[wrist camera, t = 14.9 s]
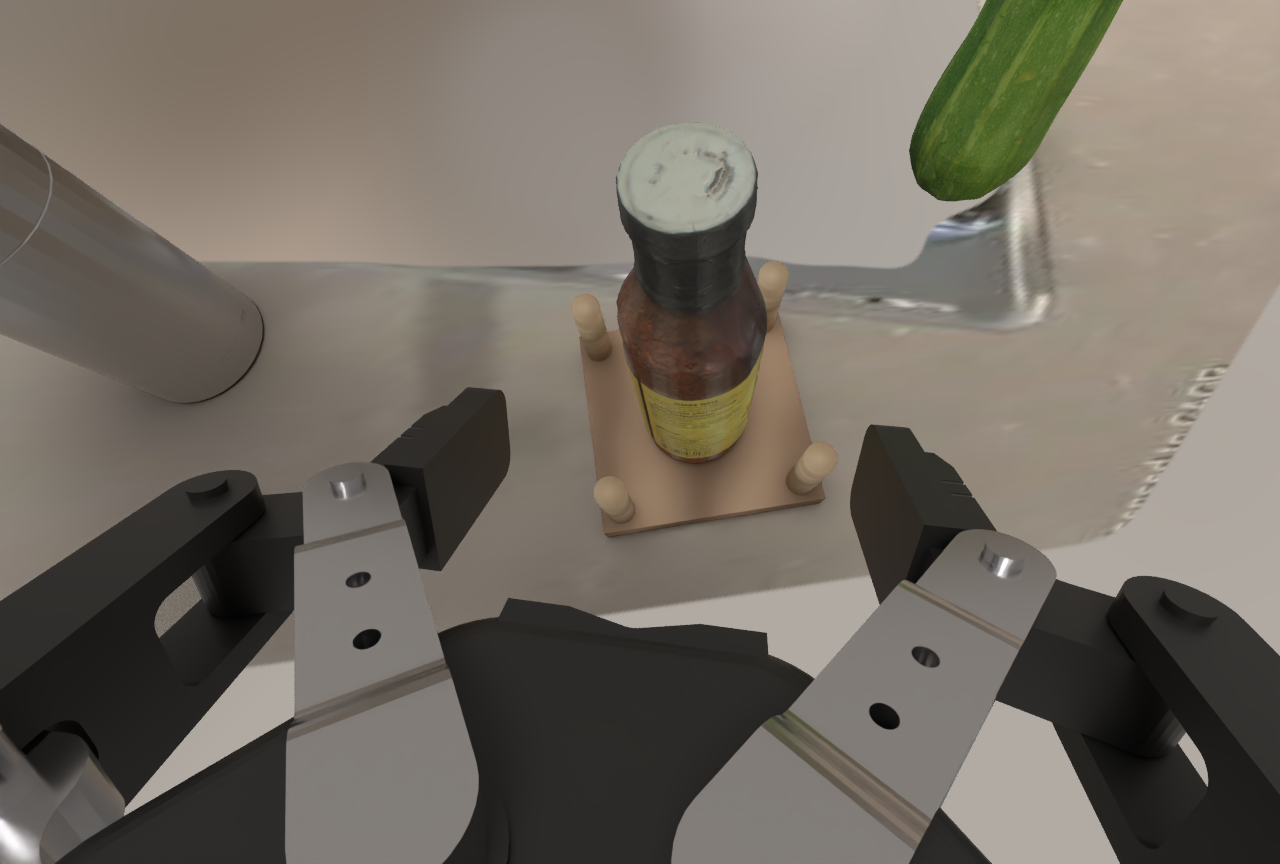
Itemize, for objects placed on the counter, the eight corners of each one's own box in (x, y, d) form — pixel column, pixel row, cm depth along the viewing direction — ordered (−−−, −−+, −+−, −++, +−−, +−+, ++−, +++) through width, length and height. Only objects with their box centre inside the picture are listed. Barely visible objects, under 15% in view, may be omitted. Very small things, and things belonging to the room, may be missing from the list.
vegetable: (884, 208, 39) (1069, -165, 20) (903, 130, 41) (1090, -279, 22) (993, 231, 38) (1299, -144, 19) (1008, 149, 40) (1300, -266, 21)
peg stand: (607, 536, 34) (588, 519, 27) (583, 346, 38) (561, 291, 31) (819, 502, 33) (852, 477, 27) (772, 314, 37) (790, 251, 31)
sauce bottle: (766, 426, 34) (869, 195, 15) (684, 487, 33) (682, 328, 14) (699, 349, 35) (714, 57, 17) (620, 406, 35) (542, 168, 16)
